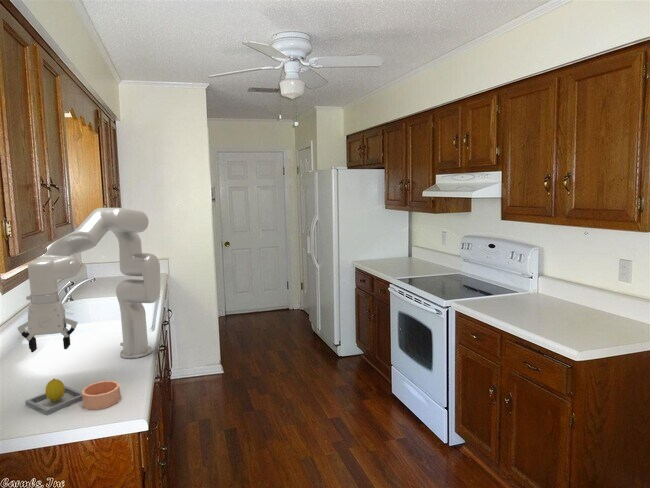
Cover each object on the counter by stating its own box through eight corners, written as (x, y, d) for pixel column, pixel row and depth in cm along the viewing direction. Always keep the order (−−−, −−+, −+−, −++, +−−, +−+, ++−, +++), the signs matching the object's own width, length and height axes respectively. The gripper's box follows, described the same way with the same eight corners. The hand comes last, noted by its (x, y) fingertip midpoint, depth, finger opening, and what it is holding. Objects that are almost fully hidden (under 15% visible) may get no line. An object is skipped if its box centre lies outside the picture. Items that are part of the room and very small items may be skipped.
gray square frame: (25, 405, 155) (25, 400, 155) (64, 389, 166) (64, 385, 166) (46, 415, 148) (46, 410, 148) (86, 398, 159) (86, 394, 159)
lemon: (48, 399, 158) (45, 377, 157) (66, 396, 161) (64, 374, 159) (45, 407, 153) (43, 383, 152) (65, 403, 156) (62, 380, 154)
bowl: (76, 404, 155) (74, 391, 154) (107, 390, 164) (106, 378, 164) (96, 412, 149) (94, 399, 149) (127, 398, 159) (126, 385, 158)
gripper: (10, 303, 146) (16, 356, 149) (71, 299, 150) (76, 350, 152) (19, 297, 154) (25, 348, 156) (77, 293, 157) (82, 343, 160)
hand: (50, 349), depth 154 cm, fingers open, 9 cm apart
